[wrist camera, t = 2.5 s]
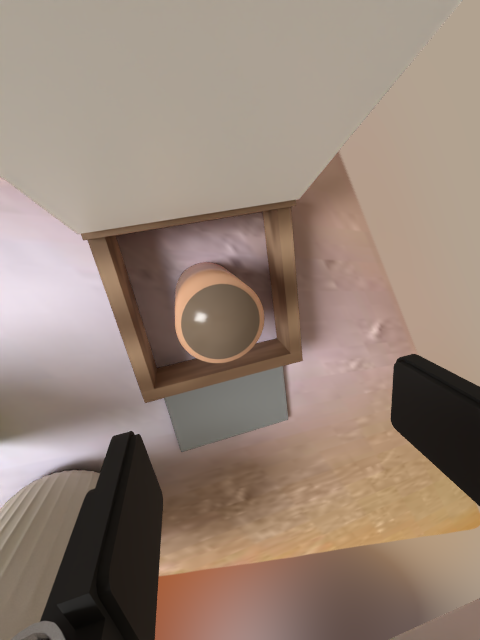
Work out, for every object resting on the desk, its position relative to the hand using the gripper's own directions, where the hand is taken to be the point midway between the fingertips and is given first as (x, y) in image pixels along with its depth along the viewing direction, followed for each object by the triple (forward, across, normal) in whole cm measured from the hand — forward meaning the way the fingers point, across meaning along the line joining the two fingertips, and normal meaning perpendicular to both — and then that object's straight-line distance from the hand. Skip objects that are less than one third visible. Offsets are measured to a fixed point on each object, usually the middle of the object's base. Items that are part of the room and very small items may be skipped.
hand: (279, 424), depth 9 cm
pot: (+19, +1, -1) cm, 19 cm away
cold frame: (+19, +1, 0) cm, 19 cm away
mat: (+19, +1, +13) cm, 23 cm away
